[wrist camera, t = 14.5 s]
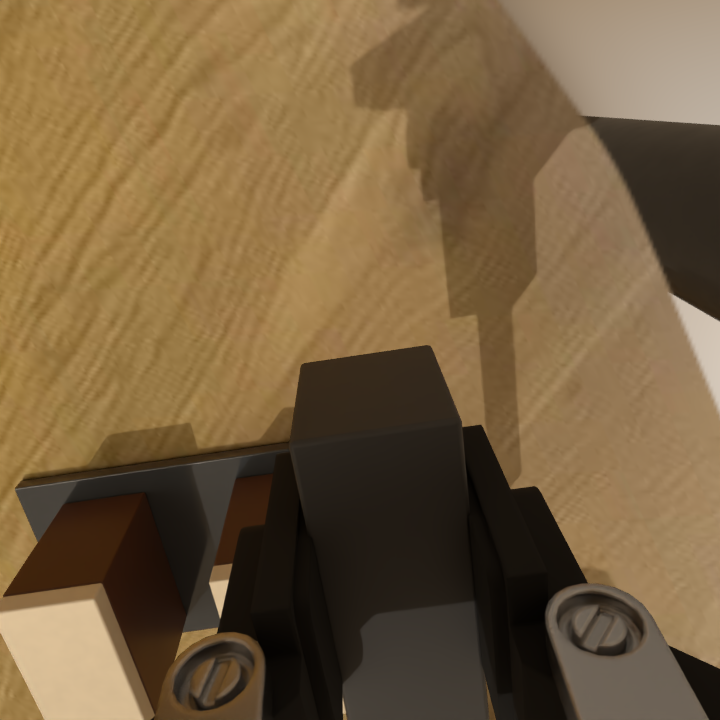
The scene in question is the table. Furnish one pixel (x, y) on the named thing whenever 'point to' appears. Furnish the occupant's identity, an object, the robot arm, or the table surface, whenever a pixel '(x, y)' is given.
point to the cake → (242, 512)
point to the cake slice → (95, 613)
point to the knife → (391, 533)
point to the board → (165, 510)
